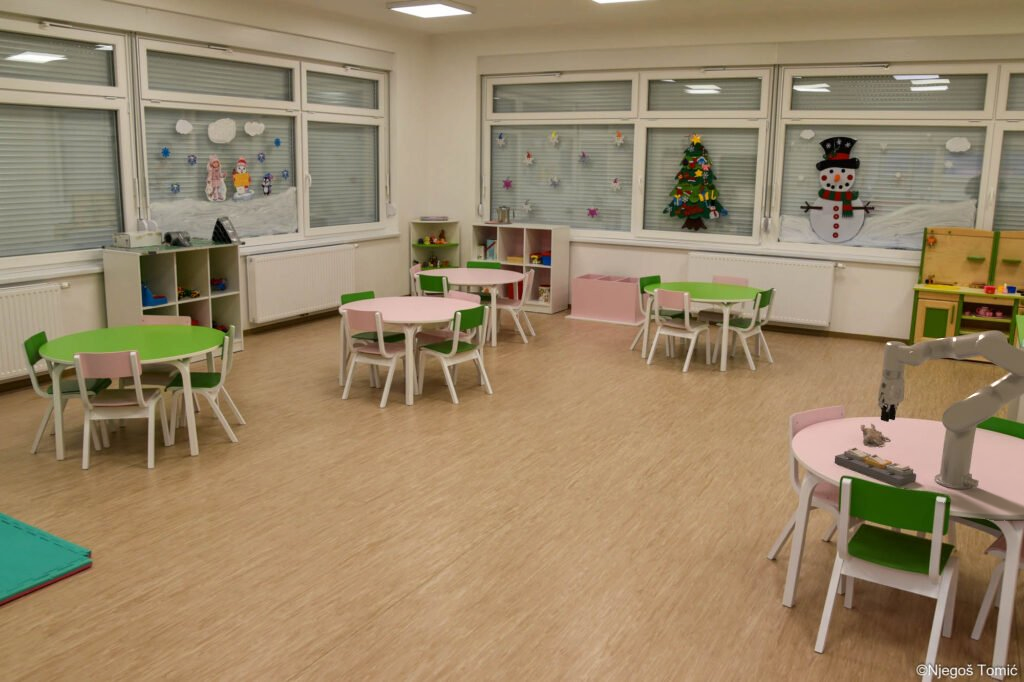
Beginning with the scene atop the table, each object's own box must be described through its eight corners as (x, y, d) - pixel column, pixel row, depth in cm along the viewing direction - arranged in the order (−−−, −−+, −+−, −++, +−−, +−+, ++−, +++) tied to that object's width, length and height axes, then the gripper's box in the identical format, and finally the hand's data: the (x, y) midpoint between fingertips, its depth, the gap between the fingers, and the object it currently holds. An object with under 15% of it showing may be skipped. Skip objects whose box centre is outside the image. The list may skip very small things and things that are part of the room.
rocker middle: (886, 464, 320) (887, 461, 320) (880, 466, 318) (881, 463, 318) (874, 456, 324) (875, 454, 324) (868, 458, 322) (869, 455, 322)
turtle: (867, 442, 364) (861, 420, 364) (890, 437, 360) (884, 415, 359) (865, 452, 350) (859, 429, 350) (889, 448, 346) (882, 425, 346)
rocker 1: (866, 456, 328) (867, 454, 327) (859, 458, 326) (860, 456, 325) (854, 449, 332) (855, 447, 331) (848, 451, 330) (849, 448, 329)
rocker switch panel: (915, 481, 312) (916, 470, 311) (898, 487, 307) (900, 475, 306) (850, 458, 335) (851, 447, 334) (834, 462, 330) (835, 452, 329)
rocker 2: (909, 468, 312) (909, 465, 312) (903, 470, 310) (902, 467, 310) (896, 467, 317) (895, 464, 317) (889, 469, 315) (889, 466, 315)
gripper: (888, 379, 311) (883, 426, 315) (915, 373, 320) (909, 419, 324) (870, 374, 317) (865, 420, 322) (897, 369, 326) (892, 414, 330)
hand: (887, 419), depth 323 cm, fingers open, 3 cm apart
